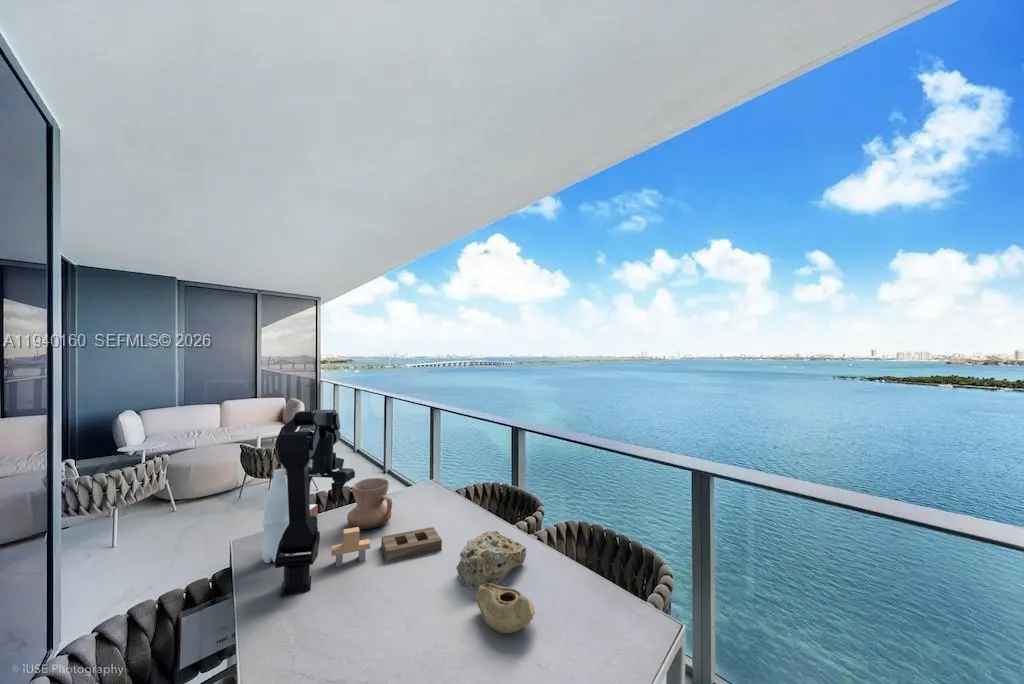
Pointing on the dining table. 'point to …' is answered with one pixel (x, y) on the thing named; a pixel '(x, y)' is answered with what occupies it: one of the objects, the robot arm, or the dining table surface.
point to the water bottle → (275, 515)
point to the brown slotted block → (410, 544)
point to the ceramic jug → (370, 503)
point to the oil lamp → (504, 608)
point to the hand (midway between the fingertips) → (320, 503)
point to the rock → (489, 559)
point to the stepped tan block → (350, 545)
